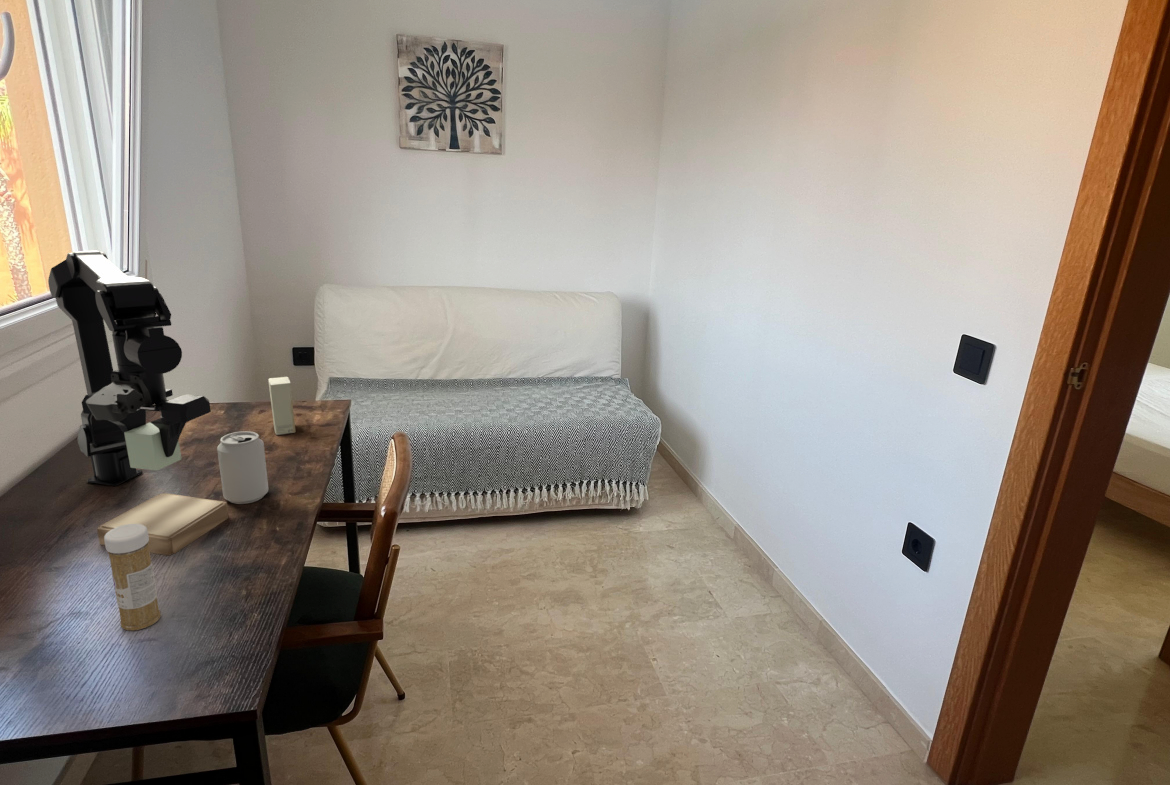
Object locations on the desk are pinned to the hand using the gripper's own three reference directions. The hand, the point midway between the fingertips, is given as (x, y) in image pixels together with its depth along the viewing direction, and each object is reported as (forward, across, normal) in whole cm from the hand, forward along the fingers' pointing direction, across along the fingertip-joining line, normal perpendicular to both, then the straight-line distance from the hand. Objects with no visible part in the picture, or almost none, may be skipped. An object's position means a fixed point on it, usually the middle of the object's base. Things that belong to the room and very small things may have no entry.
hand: (155, 454), depth 108 cm
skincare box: (+12, -8, +45) cm, 47 cm away
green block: (+2, 0, 0) cm, 2 cm away
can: (+13, +6, +13) cm, 19 cm away
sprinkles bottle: (+14, +16, -22) cm, 31 cm away
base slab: (+13, +1, -1) cm, 13 cm away
